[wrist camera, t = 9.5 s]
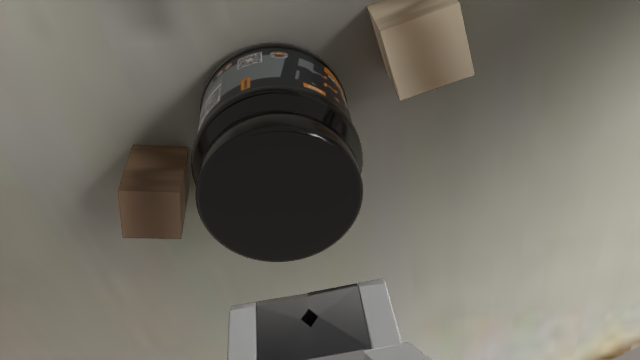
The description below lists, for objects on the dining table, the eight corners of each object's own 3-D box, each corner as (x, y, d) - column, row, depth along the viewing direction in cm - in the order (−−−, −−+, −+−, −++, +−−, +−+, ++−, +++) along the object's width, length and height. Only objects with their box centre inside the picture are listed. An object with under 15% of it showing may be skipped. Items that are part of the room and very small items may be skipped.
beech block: (437, -21, 40) (459, 2, 35) (452, 46, 42) (474, 74, 38) (366, 5, 40) (380, 31, 36) (385, 70, 43) (400, 101, 39)
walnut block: (187, 147, 45) (179, 192, 40) (188, 190, 47) (181, 239, 42) (133, 144, 44) (117, 190, 39) (136, 188, 46) (122, 237, 41)
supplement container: (347, 159, 47) (372, 261, 37) (213, 172, 46) (202, 279, 36) (343, 30, 41) (372, 109, 31) (189, 43, 40) (169, 128, 30)
